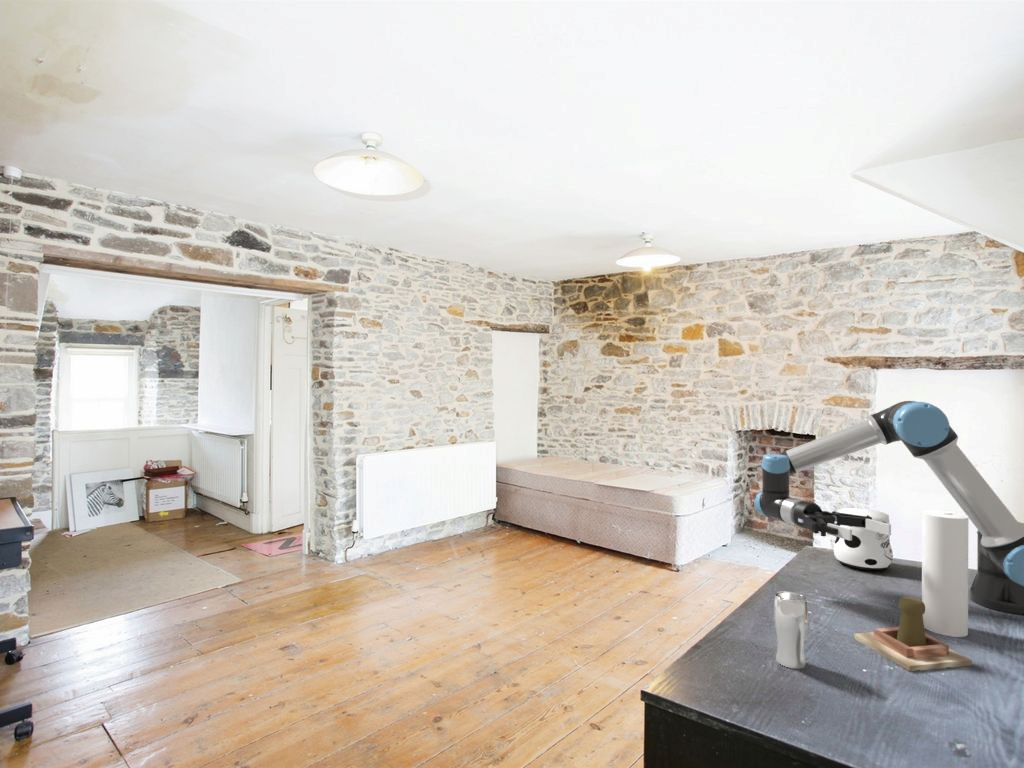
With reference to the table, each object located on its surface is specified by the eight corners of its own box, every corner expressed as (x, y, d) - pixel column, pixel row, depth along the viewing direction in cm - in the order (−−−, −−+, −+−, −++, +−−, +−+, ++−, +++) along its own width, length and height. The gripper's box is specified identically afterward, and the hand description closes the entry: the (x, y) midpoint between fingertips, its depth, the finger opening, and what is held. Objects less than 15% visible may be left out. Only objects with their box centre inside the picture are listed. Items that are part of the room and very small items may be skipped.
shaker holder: (910, 633, 142) (910, 620, 142) (971, 665, 127) (971, 651, 127) (854, 638, 140) (854, 625, 140) (909, 671, 124) (909, 657, 124)
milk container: (904, 574, 186) (905, 519, 185) (851, 574, 186) (851, 519, 186) (872, 557, 203) (872, 507, 203) (823, 557, 203) (823, 507, 203)
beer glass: (794, 673, 124) (794, 604, 123) (766, 659, 130) (766, 594, 130) (814, 665, 127) (814, 598, 127) (786, 652, 133) (787, 588, 133)
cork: (924, 642, 135) (924, 596, 135) (930, 653, 130) (930, 605, 130) (894, 637, 138) (894, 592, 138) (898, 647, 132) (898, 601, 132)
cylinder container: (976, 638, 140) (977, 517, 140) (934, 635, 141) (935, 515, 141) (953, 622, 149) (954, 508, 149) (914, 619, 151) (914, 507, 150)
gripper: (834, 522, 167) (905, 542, 147) (767, 530, 159) (833, 552, 139) (834, 497, 167) (905, 513, 147) (767, 504, 159) (833, 522, 139)
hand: (870, 532), depth 143 cm, fingers open, 13 cm apart
